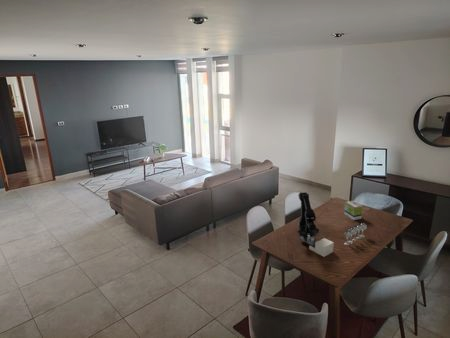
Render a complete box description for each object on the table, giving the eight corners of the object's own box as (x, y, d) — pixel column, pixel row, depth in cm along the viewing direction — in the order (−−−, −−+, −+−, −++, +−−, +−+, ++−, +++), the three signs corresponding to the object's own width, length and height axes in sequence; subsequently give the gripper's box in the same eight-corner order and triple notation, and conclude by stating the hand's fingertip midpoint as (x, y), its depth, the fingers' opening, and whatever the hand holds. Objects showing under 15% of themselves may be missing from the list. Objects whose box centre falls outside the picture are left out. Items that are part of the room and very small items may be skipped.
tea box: (343, 214, 325) (345, 201, 321) (351, 213, 328) (353, 200, 323) (353, 220, 311) (354, 207, 307) (361, 218, 314) (363, 205, 310)
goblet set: (347, 246, 266) (349, 232, 262) (342, 243, 271) (343, 229, 267) (366, 236, 281) (368, 223, 277) (361, 233, 285) (362, 220, 281)
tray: (300, 239, 275) (300, 233, 273) (304, 237, 278) (304, 231, 276) (312, 246, 264) (312, 240, 262) (317, 243, 267) (317, 237, 265)
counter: (309, 248, 263) (309, 239, 261) (318, 244, 270) (318, 235, 267) (323, 256, 251) (324, 247, 249) (332, 251, 258) (333, 242, 255)
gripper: (309, 231, 255) (308, 248, 259) (323, 224, 265) (322, 240, 269) (299, 226, 263) (298, 242, 268) (313, 220, 274) (312, 235, 278)
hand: (308, 240), depth 271 cm, fingers closed on tray, 6 cm apart
